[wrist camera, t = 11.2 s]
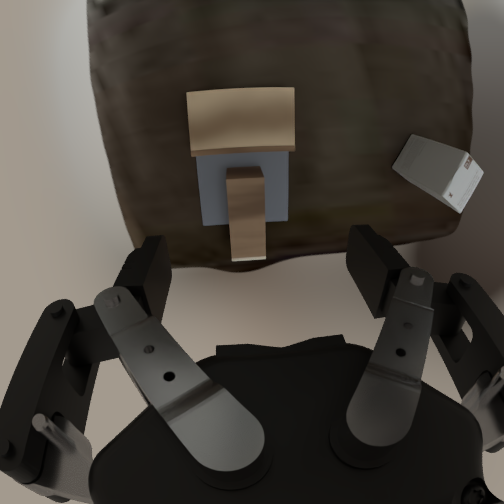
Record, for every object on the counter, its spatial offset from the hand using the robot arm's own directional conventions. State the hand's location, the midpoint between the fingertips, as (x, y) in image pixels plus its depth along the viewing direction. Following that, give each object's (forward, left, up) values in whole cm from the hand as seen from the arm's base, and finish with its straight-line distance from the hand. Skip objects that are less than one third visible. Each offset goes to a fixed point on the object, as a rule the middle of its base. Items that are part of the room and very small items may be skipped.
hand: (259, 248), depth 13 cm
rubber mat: (+5, 0, -25) cm, 25 cm away
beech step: (-3, 0, -25) cm, 25 cm away
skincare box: (+1, +23, -25) cm, 34 cm away
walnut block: (+3, 0, -22) cm, 22 cm away
